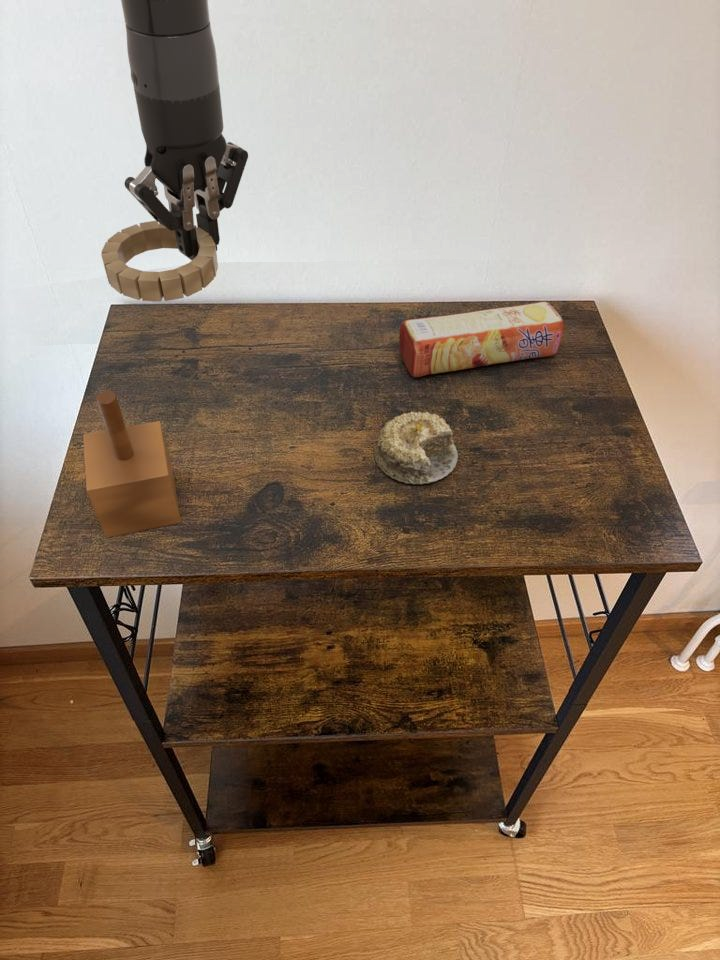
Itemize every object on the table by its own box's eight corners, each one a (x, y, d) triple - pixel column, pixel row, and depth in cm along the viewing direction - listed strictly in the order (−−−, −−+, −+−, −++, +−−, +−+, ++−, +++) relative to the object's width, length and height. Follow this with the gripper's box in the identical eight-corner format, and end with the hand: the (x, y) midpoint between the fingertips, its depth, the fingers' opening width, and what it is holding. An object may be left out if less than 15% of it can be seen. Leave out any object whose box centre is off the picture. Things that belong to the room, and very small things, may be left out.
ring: (224, 242, 80) (222, 222, 78) (208, 303, 72) (205, 282, 71) (121, 238, 80) (116, 218, 78) (94, 299, 72) (89, 278, 70)
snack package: (540, 331, 103) (550, 290, 98) (559, 361, 99) (572, 320, 94) (395, 353, 99) (398, 312, 94) (409, 385, 95) (414, 344, 90)
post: (106, 538, 78) (63, 434, 66) (101, 483, 83) (61, 376, 71) (181, 522, 80) (153, 418, 68) (172, 469, 85) (145, 363, 73)
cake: (360, 473, 86) (358, 440, 82) (393, 420, 92) (392, 387, 88) (440, 497, 83) (442, 464, 79) (469, 440, 89) (472, 406, 85)
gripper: (132, 113, 60) (166, 293, 73) (262, 73, 67) (272, 245, 80) (84, 85, 64) (125, 261, 77) (213, 49, 70) (230, 217, 83)
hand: (200, 252), depth 78 cm, fingers closed on ring, 1 cm apart
